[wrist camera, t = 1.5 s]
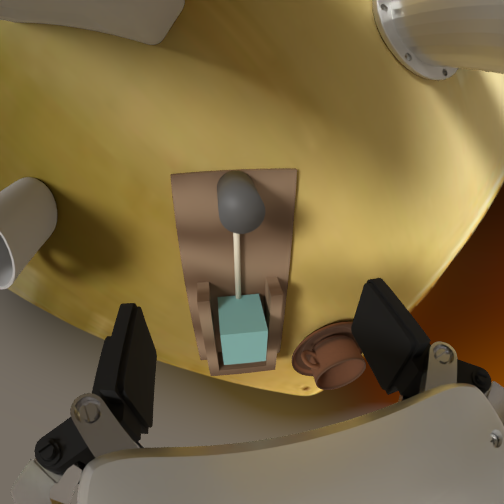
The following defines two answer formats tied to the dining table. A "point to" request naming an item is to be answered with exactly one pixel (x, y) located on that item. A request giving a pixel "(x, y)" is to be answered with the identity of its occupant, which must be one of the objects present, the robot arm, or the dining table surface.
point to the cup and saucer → (330, 356)
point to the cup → (23, 225)
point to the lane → (222, 258)
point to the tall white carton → (100, 15)
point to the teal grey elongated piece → (240, 306)
